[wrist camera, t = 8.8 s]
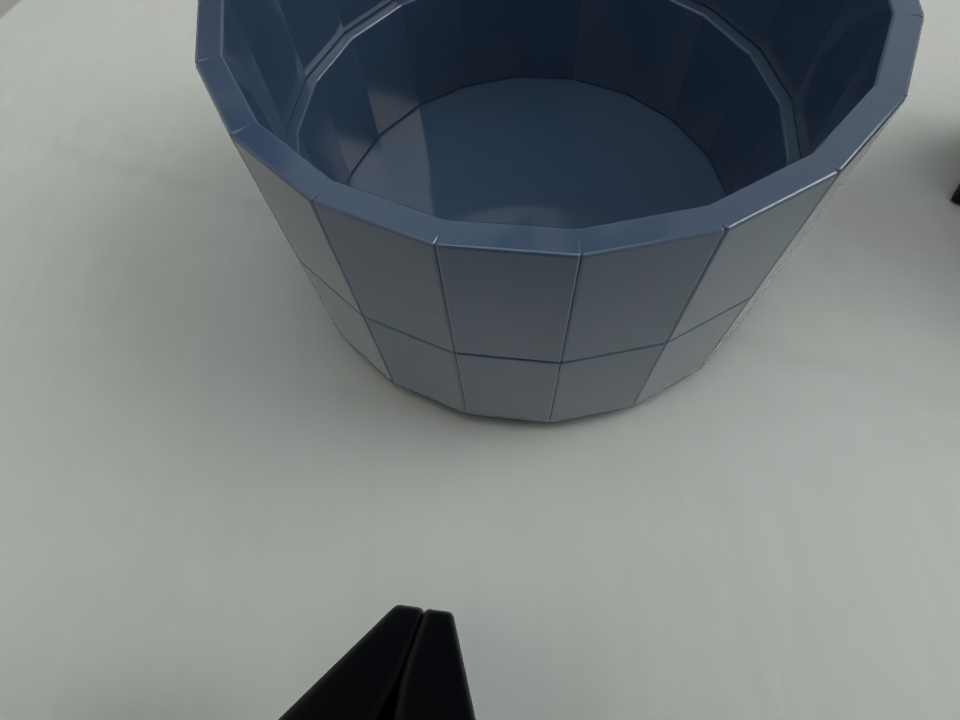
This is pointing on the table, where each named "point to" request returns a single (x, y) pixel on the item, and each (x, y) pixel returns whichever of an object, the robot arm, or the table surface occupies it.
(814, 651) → the table surface
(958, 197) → the digital camera
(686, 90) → the bowl
